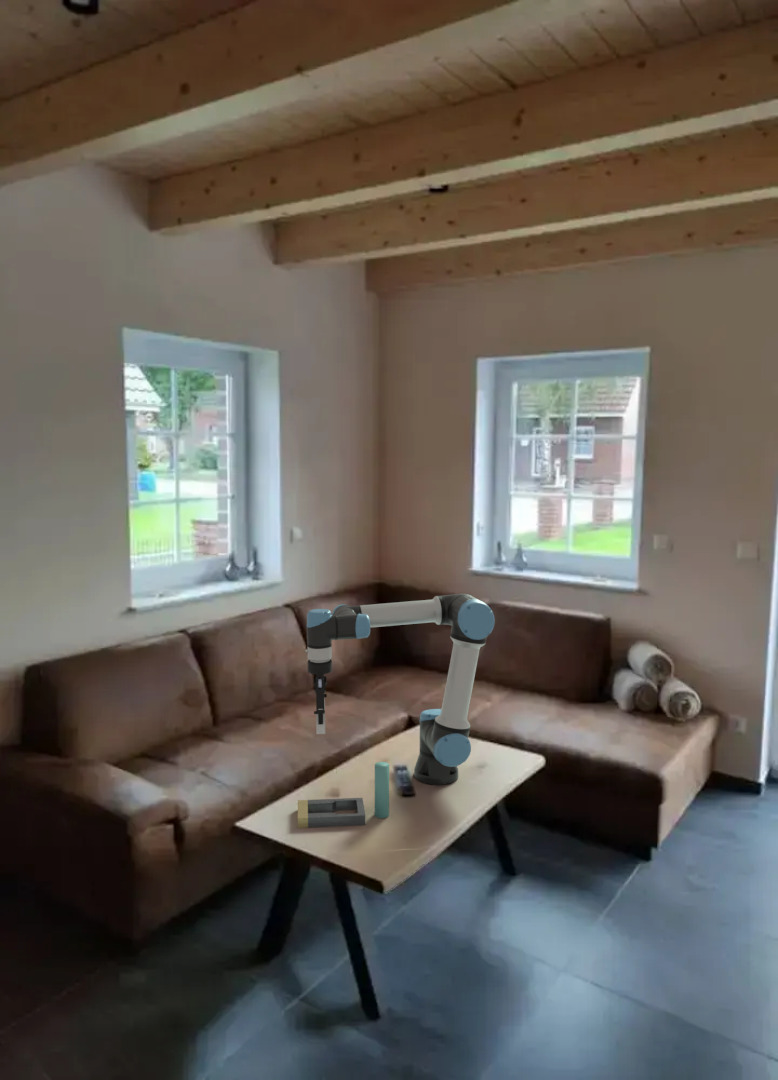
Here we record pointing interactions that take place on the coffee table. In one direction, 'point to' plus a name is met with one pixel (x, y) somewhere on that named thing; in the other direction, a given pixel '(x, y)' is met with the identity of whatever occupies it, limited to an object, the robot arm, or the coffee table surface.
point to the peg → (381, 790)
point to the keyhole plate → (324, 819)
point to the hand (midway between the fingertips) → (320, 725)
